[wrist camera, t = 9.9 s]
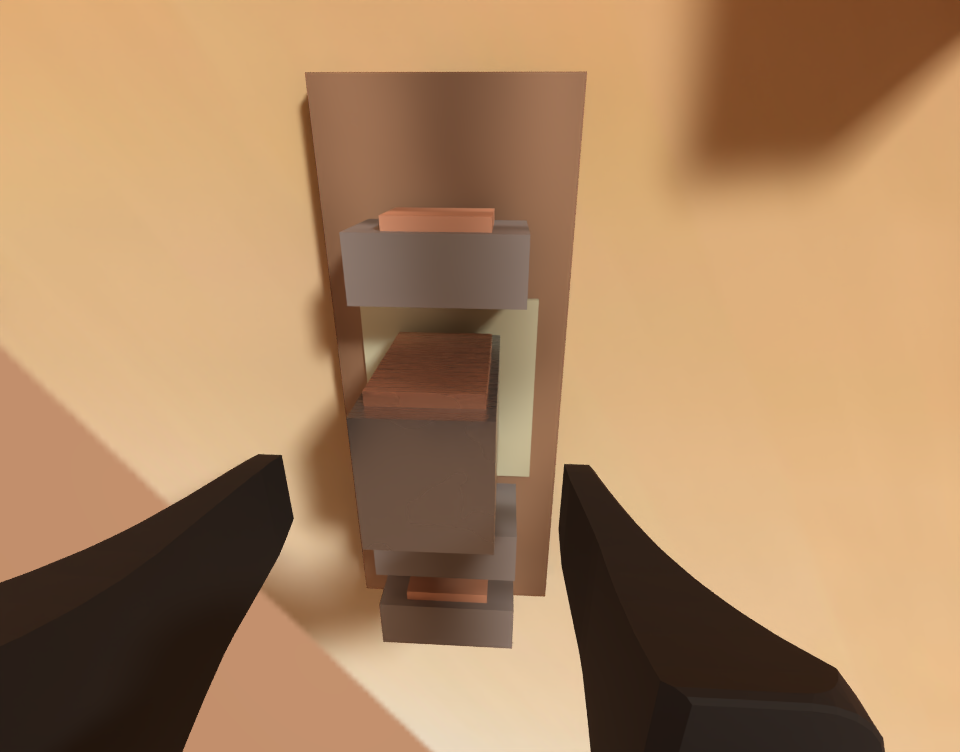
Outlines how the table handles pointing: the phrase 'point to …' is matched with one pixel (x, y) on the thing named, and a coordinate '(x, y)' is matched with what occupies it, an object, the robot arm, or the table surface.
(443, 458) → the dark rectangular block
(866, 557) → the table surface
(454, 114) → the rail
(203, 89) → the table surface
